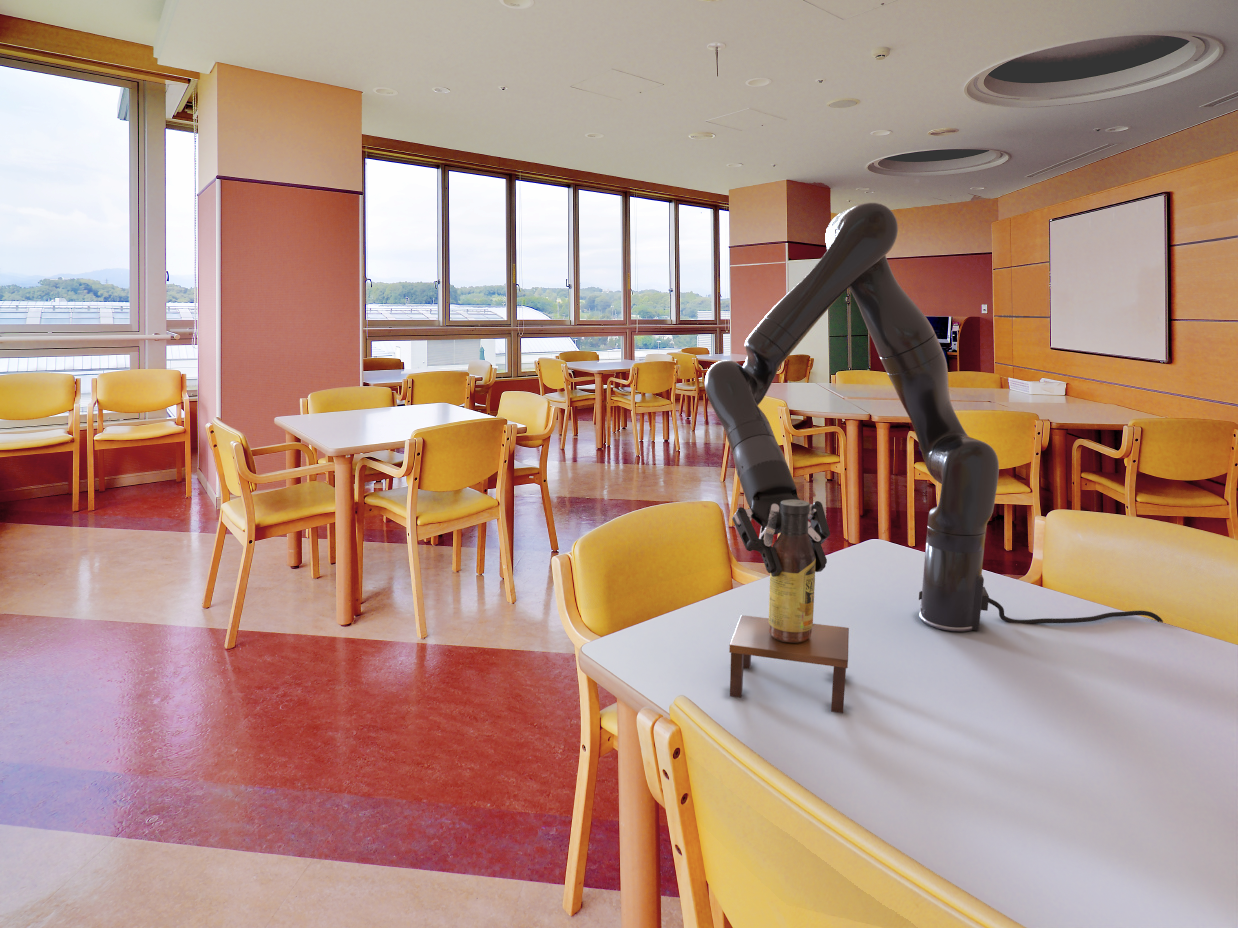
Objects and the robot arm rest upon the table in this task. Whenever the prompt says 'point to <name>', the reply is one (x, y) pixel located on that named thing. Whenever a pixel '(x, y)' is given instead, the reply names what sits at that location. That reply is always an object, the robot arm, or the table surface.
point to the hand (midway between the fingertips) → (799, 571)
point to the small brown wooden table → (790, 652)
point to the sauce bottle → (793, 576)
